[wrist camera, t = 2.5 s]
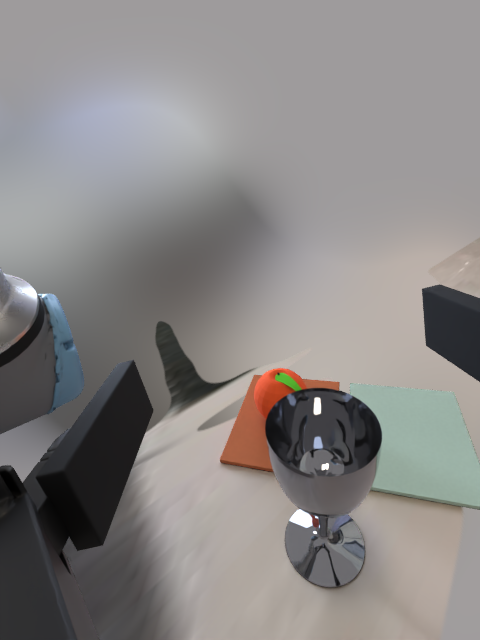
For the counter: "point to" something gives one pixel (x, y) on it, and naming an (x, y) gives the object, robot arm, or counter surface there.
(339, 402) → the wine glass
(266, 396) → the clementine
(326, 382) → the fruit mat
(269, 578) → the counter surface
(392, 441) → the glass mat
